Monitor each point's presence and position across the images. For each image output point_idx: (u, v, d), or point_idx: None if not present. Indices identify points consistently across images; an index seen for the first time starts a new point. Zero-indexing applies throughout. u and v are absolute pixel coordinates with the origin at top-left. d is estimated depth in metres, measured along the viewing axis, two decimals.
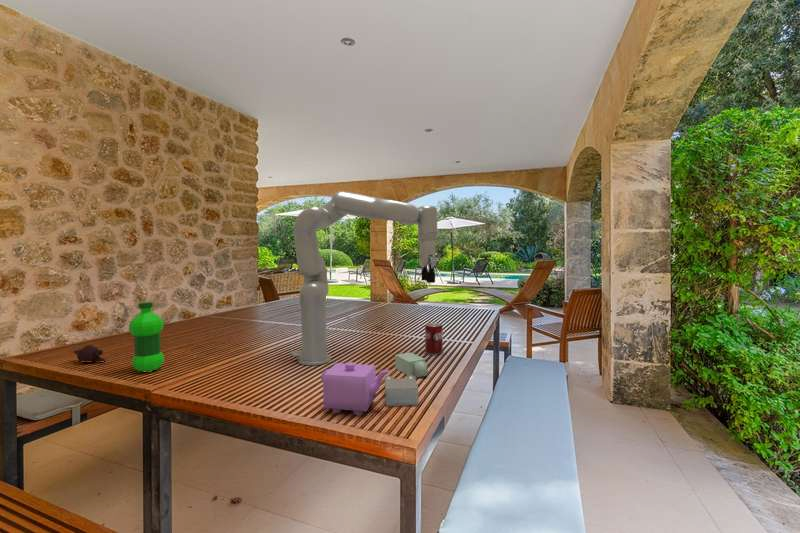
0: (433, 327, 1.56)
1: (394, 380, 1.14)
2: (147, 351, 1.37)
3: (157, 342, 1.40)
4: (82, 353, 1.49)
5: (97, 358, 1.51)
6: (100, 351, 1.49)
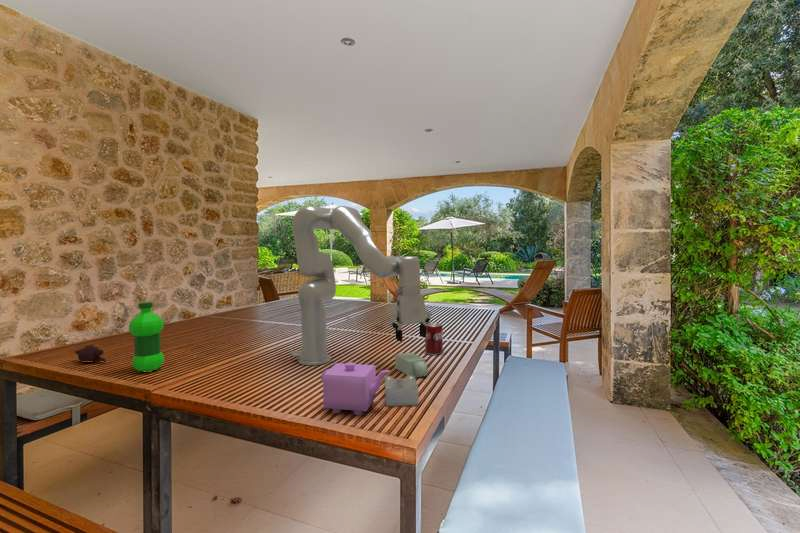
0: (433, 327, 1.56)
1: (394, 380, 1.14)
2: (147, 351, 1.37)
3: (157, 342, 1.40)
4: (83, 353, 1.49)
5: (98, 358, 1.51)
6: (101, 351, 1.49)
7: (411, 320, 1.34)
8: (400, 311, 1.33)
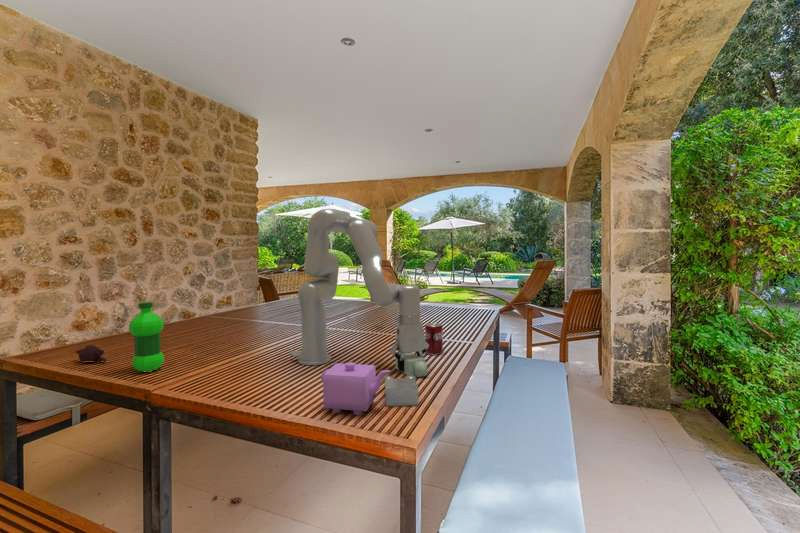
0: (433, 327, 1.56)
1: (394, 380, 1.14)
2: (147, 351, 1.37)
3: (157, 342, 1.40)
4: (83, 353, 1.49)
5: (98, 358, 1.51)
6: (101, 351, 1.49)
7: (410, 349, 1.35)
8: (399, 340, 1.34)
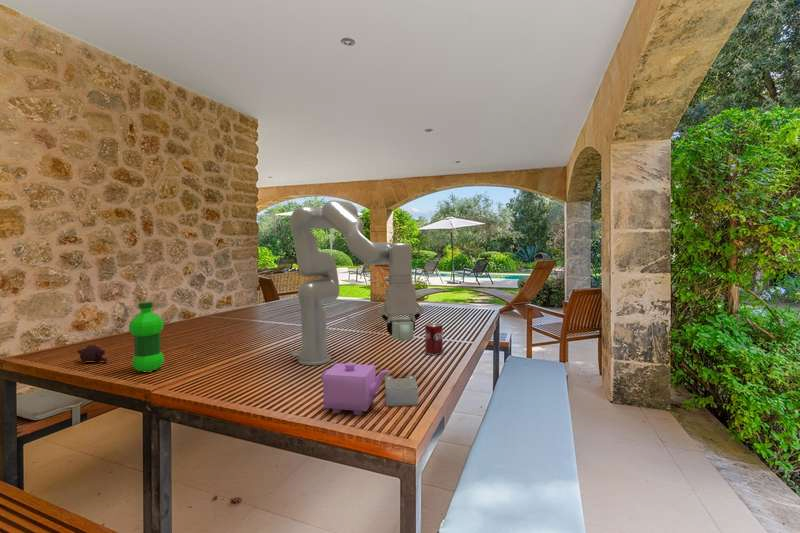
0: (433, 327, 1.56)
1: (394, 380, 1.14)
2: (147, 351, 1.37)
3: (157, 342, 1.40)
4: (85, 353, 1.49)
5: (99, 358, 1.51)
6: (102, 351, 1.49)
7: (398, 311, 1.25)
8: (386, 301, 1.25)
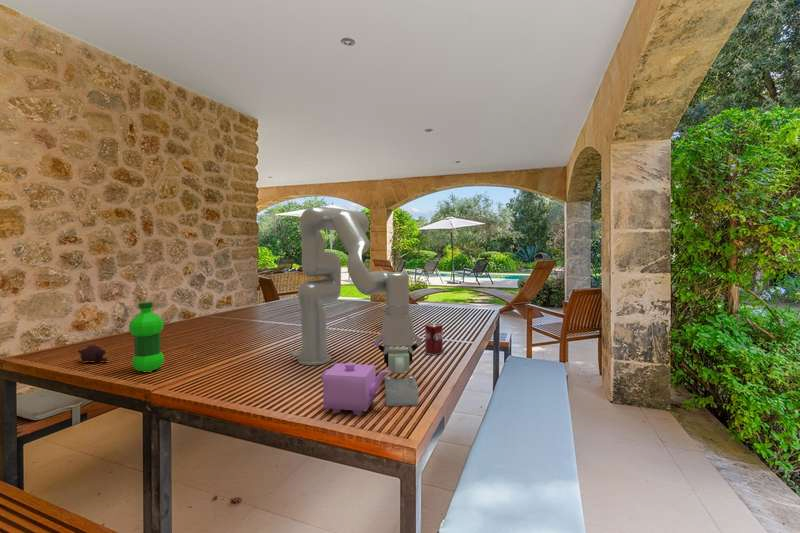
0: (433, 327, 1.56)
1: (394, 380, 1.14)
2: (147, 351, 1.37)
3: (157, 342, 1.40)
4: (85, 353, 1.49)
5: (100, 358, 1.51)
6: (103, 351, 1.49)
7: (394, 342, 1.23)
8: (382, 331, 1.23)
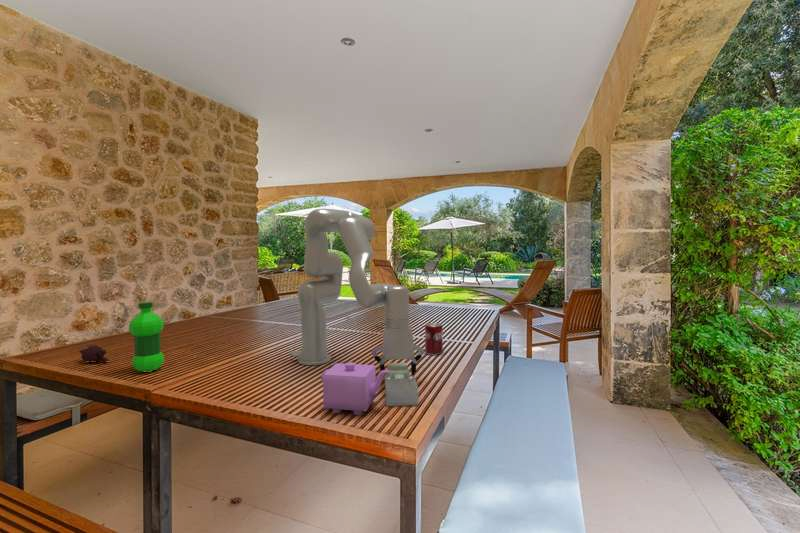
0: (433, 327, 1.56)
1: (394, 380, 1.14)
2: (147, 351, 1.37)
3: (157, 342, 1.40)
4: (86, 353, 1.49)
5: (101, 358, 1.51)
6: (103, 351, 1.49)
7: (394, 356, 1.23)
8: (382, 345, 1.24)
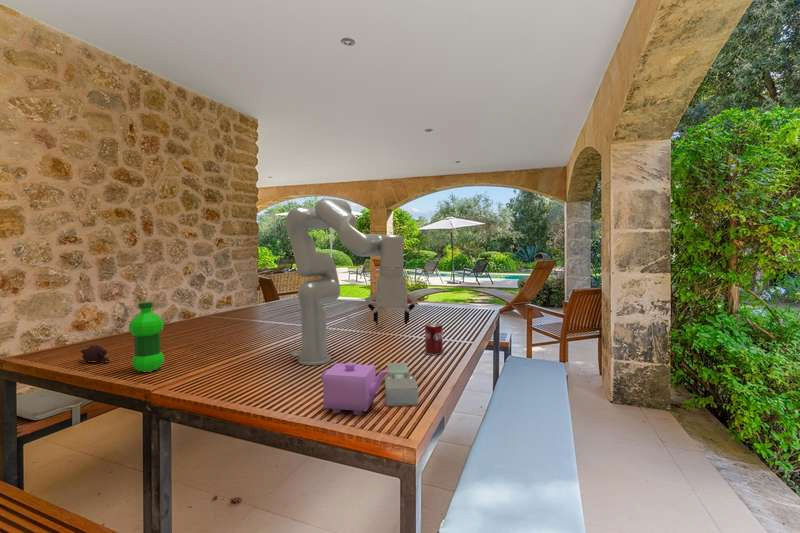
0: (433, 327, 1.56)
1: (394, 380, 1.14)
2: (147, 351, 1.37)
3: (157, 342, 1.40)
4: (87, 353, 1.49)
5: (102, 358, 1.51)
6: (104, 351, 1.49)
7: (387, 303, 1.24)
8: (376, 292, 1.25)
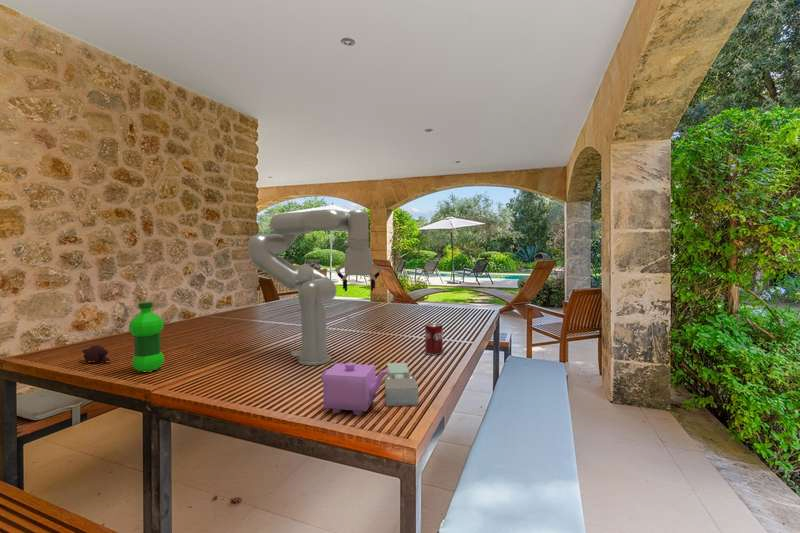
0: (433, 327, 1.56)
1: (394, 380, 1.14)
2: (147, 351, 1.37)
3: (157, 342, 1.40)
4: (88, 353, 1.49)
5: (102, 358, 1.50)
6: (105, 351, 1.49)
7: (354, 271, 1.39)
8: None
